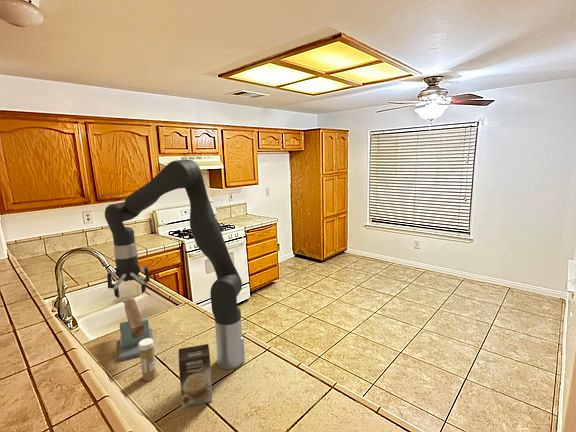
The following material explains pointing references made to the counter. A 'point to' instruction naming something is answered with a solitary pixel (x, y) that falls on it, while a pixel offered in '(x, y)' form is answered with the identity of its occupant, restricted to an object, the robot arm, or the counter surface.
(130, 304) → the walnut bar
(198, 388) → the coffee box
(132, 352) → the ridge stand
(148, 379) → the sprinkles bottle
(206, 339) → the counter surface
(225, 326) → the robot arm
